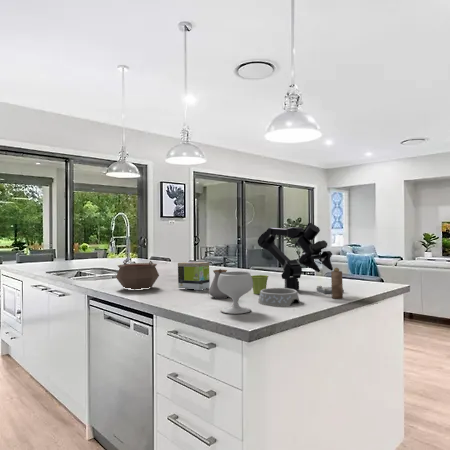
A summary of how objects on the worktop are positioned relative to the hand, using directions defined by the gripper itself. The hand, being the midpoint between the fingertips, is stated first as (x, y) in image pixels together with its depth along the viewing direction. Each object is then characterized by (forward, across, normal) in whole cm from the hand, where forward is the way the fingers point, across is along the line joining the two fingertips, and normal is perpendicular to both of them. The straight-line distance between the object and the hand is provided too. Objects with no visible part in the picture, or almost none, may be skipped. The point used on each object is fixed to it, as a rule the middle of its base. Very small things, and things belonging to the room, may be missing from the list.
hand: (325, 270), depth 178 cm
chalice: (+7, -52, +10) cm, 53 cm away
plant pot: (-11, -18, +28) cm, 35 cm away
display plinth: (+3, +11, +14) cm, 18 cm away
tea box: (-37, -34, +54) cm, 73 cm away
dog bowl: (+6, -26, +12) cm, 29 cm away
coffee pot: (-11, -41, +28) cm, 51 cm away
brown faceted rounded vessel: (-52, -57, +69) cm, 104 cm away
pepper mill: (+13, 0, +4) cm, 13 cm away
